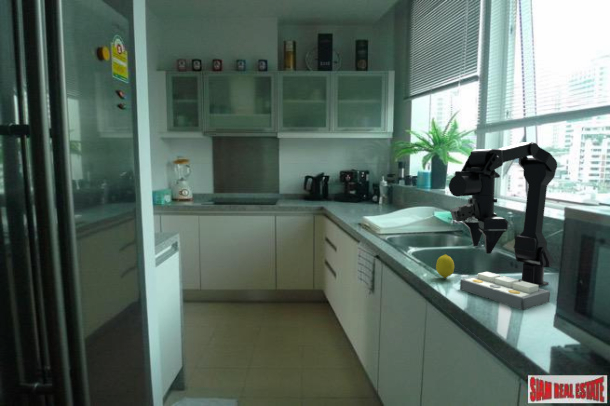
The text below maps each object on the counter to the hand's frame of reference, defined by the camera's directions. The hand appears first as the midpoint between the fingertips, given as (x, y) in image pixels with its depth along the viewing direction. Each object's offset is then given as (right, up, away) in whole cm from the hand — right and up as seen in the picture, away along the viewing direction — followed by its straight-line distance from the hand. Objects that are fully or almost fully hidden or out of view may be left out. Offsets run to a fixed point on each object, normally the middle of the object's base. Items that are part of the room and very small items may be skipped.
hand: (481, 249), depth 106 cm
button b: (+8, -11, +1) cm, 13 cm away
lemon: (-4, -12, +17) cm, 21 cm away
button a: (+5, -11, +6) cm, 13 cm away
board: (+6, -13, +1) cm, 14 cm away
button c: (+10, -11, -4) cm, 16 cm away
